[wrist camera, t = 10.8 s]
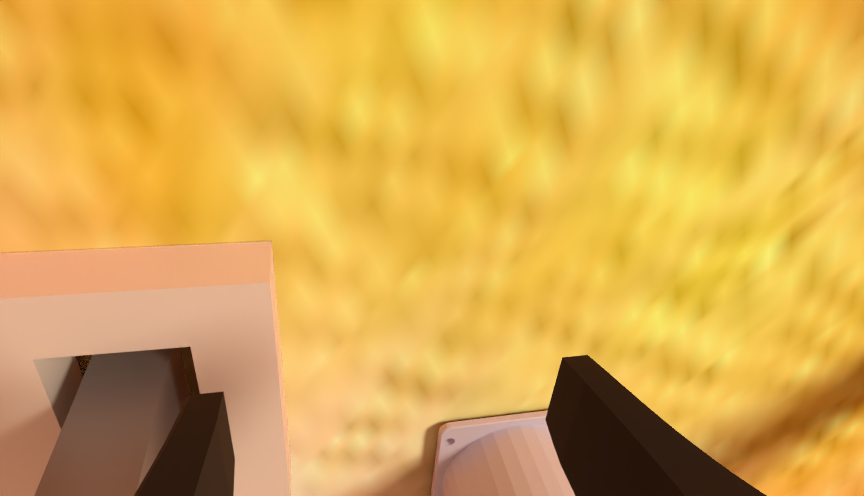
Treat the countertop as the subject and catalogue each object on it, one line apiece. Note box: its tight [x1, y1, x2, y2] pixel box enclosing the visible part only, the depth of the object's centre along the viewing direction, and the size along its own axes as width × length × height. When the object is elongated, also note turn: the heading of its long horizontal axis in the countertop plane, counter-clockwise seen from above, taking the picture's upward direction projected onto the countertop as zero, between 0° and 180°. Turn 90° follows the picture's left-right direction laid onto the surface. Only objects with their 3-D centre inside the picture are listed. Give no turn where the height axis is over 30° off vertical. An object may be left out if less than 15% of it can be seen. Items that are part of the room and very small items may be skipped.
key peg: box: [34, 348, 190, 496], centre depth 19 cm, size 3×5×7 cm, turn 176°
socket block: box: [0, 241, 291, 496], centre depth 21 cm, size 12×10×2 cm
